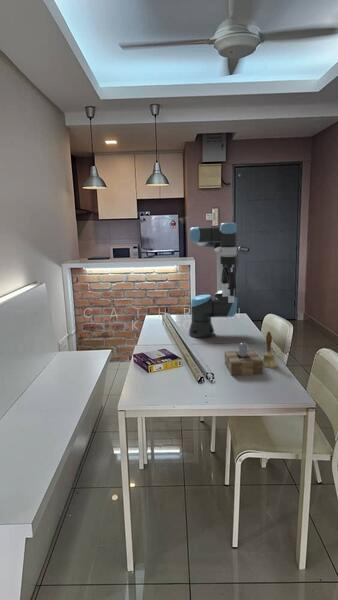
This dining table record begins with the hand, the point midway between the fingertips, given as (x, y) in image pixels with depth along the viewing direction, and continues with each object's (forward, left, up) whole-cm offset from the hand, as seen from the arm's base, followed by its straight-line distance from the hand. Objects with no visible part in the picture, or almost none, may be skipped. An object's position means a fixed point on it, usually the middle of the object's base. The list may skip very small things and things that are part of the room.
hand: (228, 299), depth 179 cm
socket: (+18, +3, -29) cm, 34 cm away
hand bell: (+15, +16, -29) cm, 36 cm away
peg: (+18, +3, -29) cm, 34 cm away
